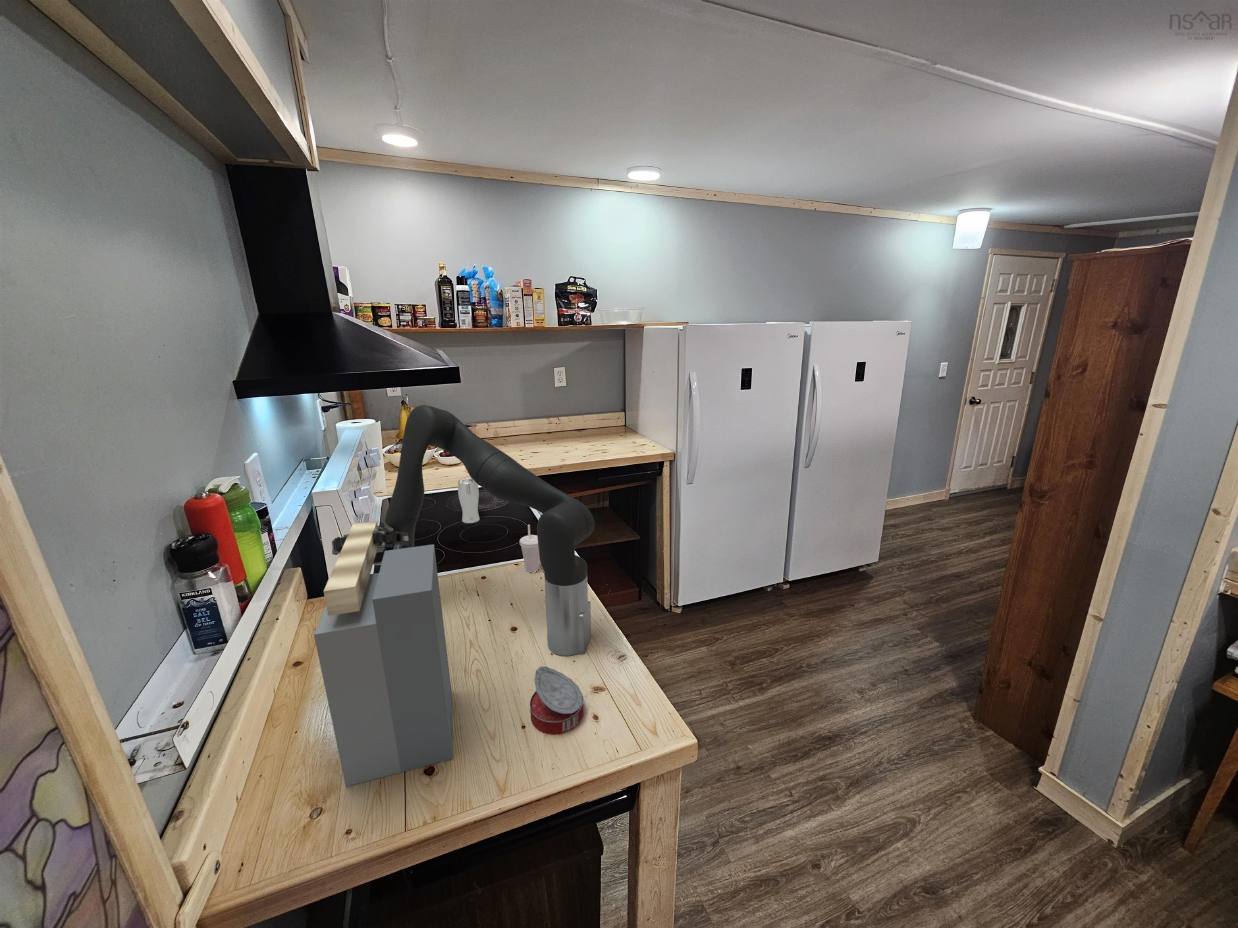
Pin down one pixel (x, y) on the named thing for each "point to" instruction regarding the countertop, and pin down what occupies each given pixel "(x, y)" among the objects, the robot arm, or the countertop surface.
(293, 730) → the countertop surface
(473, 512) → the beer glass
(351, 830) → the countertop surface
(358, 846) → the countertop surface
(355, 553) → the birch bar
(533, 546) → the smoothie
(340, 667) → the block
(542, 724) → the canned food
